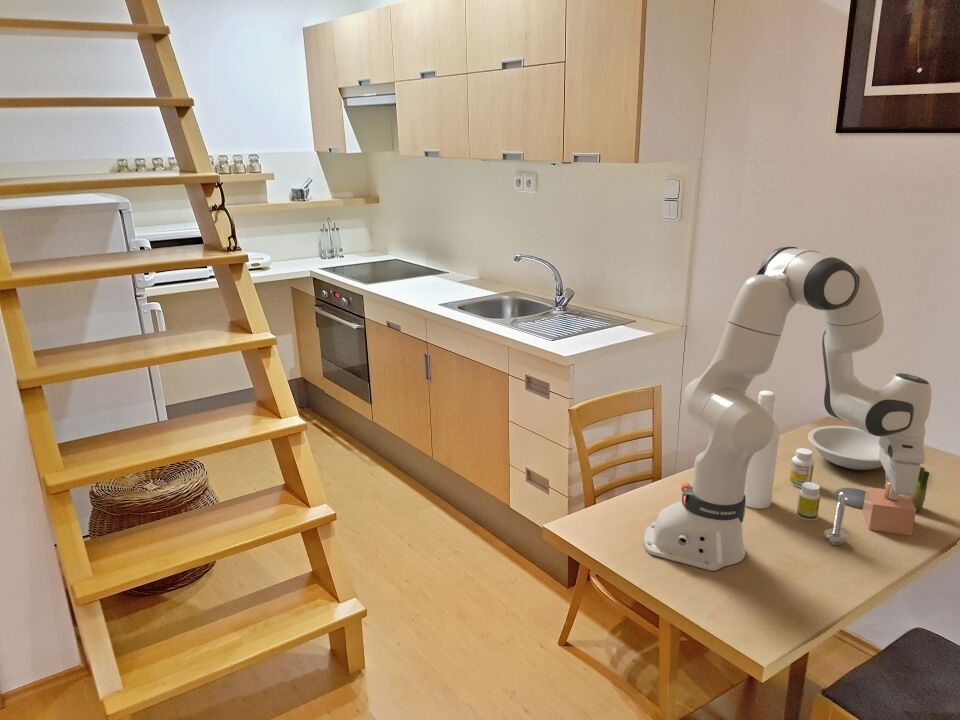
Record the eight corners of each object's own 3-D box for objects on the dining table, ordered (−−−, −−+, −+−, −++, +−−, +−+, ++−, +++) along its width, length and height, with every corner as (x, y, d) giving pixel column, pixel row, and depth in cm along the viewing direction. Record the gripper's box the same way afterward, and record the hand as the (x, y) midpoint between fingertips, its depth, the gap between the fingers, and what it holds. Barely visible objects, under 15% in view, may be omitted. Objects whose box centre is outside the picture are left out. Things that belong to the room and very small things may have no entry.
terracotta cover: (868, 529, 170) (875, 489, 167) (862, 511, 178) (869, 472, 175) (911, 535, 167) (919, 494, 164) (902, 516, 176) (910, 477, 172)
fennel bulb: (924, 515, 176) (933, 471, 173) (902, 512, 178) (910, 468, 174) (919, 504, 182) (927, 461, 178) (897, 501, 183) (905, 458, 179)
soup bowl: (797, 468, 202) (799, 447, 200) (814, 439, 220) (816, 419, 218) (893, 490, 189) (897, 468, 187) (902, 457, 207) (906, 437, 205)
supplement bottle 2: (819, 521, 174) (823, 491, 171) (798, 520, 175) (802, 489, 172) (814, 512, 178) (818, 482, 176) (794, 510, 179) (798, 480, 177)
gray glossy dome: (837, 505, 181) (837, 503, 181) (832, 487, 190) (832, 485, 190) (881, 511, 178) (881, 509, 178) (874, 492, 187) (874, 490, 187)
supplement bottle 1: (800, 477, 196) (805, 445, 193) (815, 486, 191) (820, 453, 188) (784, 481, 194) (789, 448, 192) (799, 489, 190) (803, 456, 187)
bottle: (739, 507, 181) (751, 396, 172) (737, 492, 188) (748, 386, 179) (772, 510, 179) (786, 399, 170) (769, 496, 186) (782, 388, 177)
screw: (822, 545, 164) (823, 534, 168) (846, 550, 162) (846, 539, 166) (830, 494, 160) (831, 485, 164) (854, 499, 158) (854, 490, 162)
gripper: (877, 423, 177) (868, 473, 181) (895, 457, 158) (885, 512, 162) (906, 426, 175) (896, 476, 179) (927, 460, 156) (916, 516, 160)
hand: (891, 494), depth 171 cm, fingers closed on terracotta cover, 3 cm apart
